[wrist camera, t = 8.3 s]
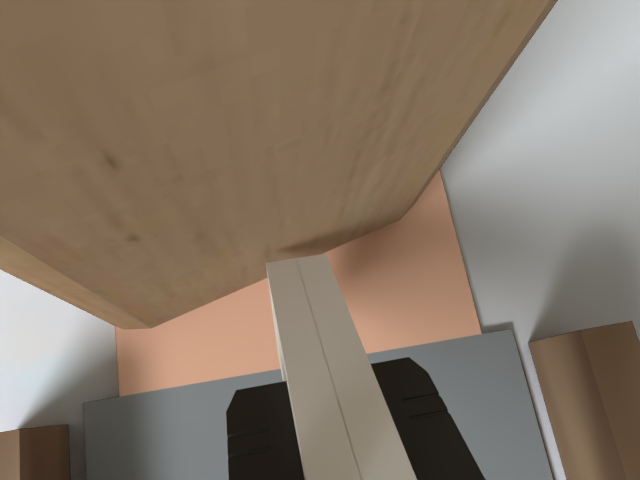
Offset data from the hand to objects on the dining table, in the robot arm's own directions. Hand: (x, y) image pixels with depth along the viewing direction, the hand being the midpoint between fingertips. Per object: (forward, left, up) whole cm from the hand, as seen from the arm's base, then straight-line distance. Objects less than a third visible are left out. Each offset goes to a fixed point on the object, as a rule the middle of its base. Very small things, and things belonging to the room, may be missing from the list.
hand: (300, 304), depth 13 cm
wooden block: (+2, -6, -3) cm, 7 cm away
